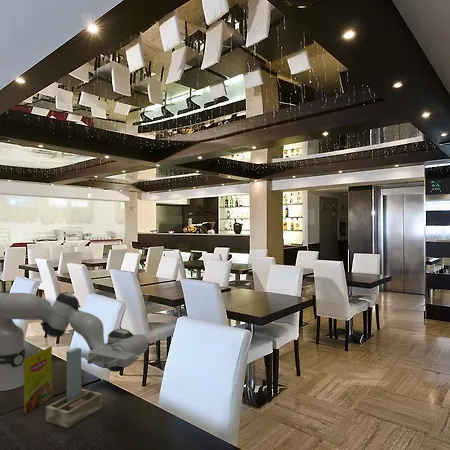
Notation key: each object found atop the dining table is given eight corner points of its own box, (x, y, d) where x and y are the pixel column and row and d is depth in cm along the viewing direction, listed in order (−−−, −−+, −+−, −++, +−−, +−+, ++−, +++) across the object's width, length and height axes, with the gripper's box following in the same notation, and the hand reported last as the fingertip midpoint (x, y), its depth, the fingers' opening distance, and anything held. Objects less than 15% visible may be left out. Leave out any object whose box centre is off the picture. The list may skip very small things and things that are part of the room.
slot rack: (45, 421, 131) (45, 406, 131) (81, 401, 145) (81, 388, 145) (67, 428, 126) (67, 413, 126) (102, 407, 141) (102, 393, 141)
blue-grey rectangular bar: (66, 412, 137) (66, 351, 137) (77, 406, 142) (77, 347, 142) (70, 413, 136) (70, 352, 136) (81, 407, 141) (81, 348, 141)
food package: (25, 415, 135) (25, 359, 135) (22, 415, 135) (22, 359, 135) (53, 396, 150) (52, 346, 150) (50, 396, 150) (50, 345, 150)
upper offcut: (68, 413, 132) (68, 406, 132) (80, 405, 137) (80, 398, 137) (74, 415, 131) (74, 407, 131) (87, 407, 136) (87, 400, 136)
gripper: (140, 363, 158) (118, 376, 145) (103, 356, 166) (78, 367, 154) (140, 348, 158) (118, 359, 145) (103, 342, 166) (78, 352, 154)
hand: (97, 363), depth 150 cm, fingers open, 8 cm apart
